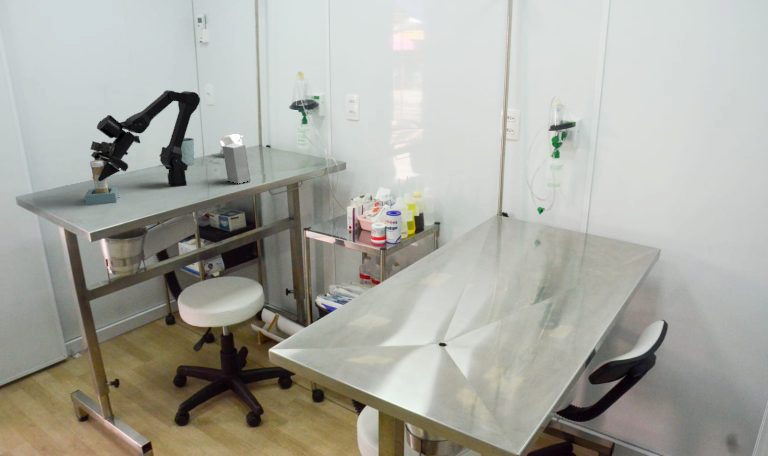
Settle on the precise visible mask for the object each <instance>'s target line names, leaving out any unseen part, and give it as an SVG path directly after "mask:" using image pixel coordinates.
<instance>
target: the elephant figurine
mask: <svg viewBox="0 0 768 456" xmlns="http://www.w3.org/2000/svg"><path fill="white" fill-rule="evenodd" d="M243 137H244V135H241V134H238V133H233V134H227V135H225V136H223V137H222V138H220V140H219V145H220V148H221V149H220V151H219V154H223V156H224V152H223V146H225V145H230V144H240V145H243Z"/></svg>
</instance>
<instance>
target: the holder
mask: <svg viewBox="0 0 768 456" xmlns="http://www.w3.org/2000/svg"><path fill="white" fill-rule="evenodd" d="M118 188H119V187H118V186H110V187H108V192H109V193H99V194H96V189H95V188H89V189H87V191H86V193H85V195H84V198H85V203H86V206H91V205H102V204H103V205H104V204H111V203H115V204H116V203H117V202H118V198H119V197H120V195H119V189H118Z"/></svg>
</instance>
